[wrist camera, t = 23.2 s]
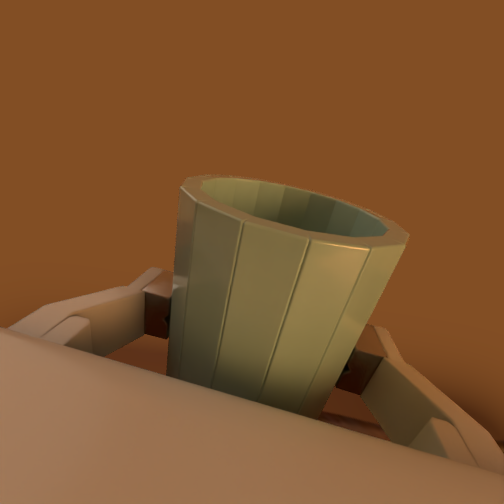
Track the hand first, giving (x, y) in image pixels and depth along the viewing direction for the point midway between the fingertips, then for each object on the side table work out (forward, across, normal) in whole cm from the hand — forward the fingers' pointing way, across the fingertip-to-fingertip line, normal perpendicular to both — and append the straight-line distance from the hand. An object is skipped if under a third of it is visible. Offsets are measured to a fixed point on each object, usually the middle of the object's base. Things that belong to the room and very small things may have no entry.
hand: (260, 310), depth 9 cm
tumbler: (-1, 0, +6) cm, 6 cm away
